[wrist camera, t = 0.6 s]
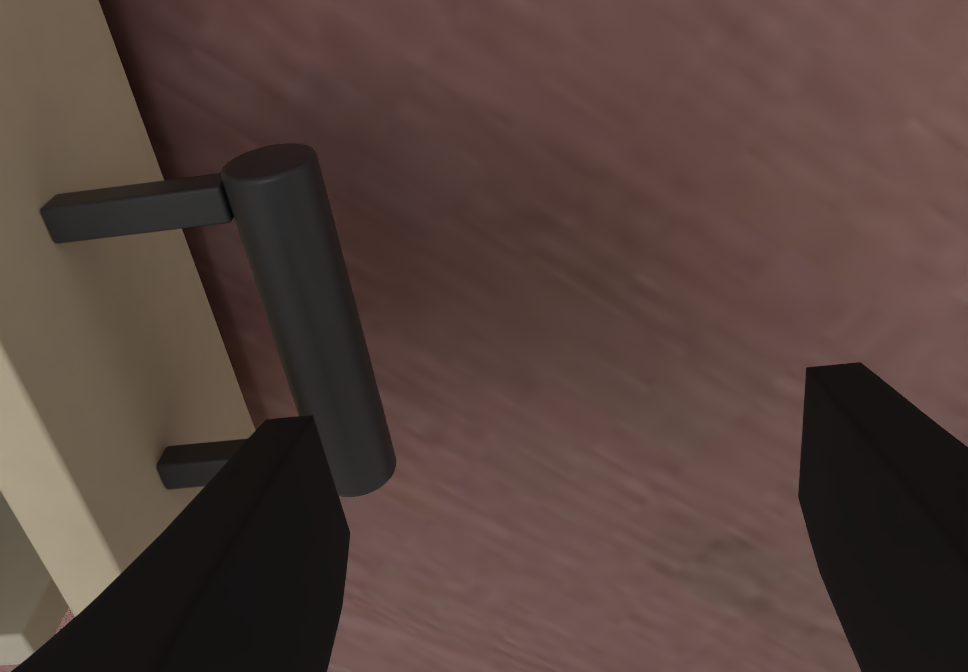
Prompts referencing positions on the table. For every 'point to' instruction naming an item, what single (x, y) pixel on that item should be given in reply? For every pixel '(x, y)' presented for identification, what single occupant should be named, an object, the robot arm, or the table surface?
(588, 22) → the table surface
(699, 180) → the table surface
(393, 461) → the drawer
